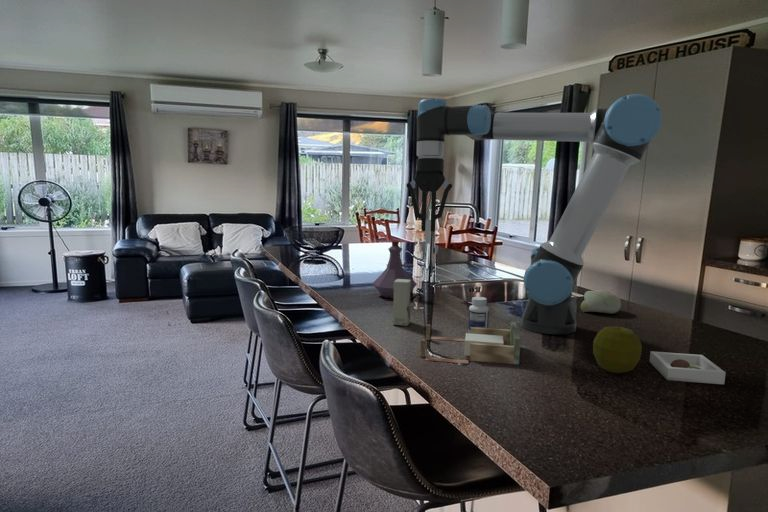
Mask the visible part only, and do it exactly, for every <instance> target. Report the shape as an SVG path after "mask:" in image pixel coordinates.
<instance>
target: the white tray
mask: <svg viewBox="0 0 768 512" xmlns="http://www.w3.org/2000/svg"><path fill="white" fill-rule="evenodd" d="M677 359H682V360H685V361H687V362H688V363H689V364H690V366H694V367H698V368H700V369H692V368H678V367H672V366H671V365H670V364H671V363H672V362H673V361H674V360H677ZM649 363H650V364H651V365H652V366H653V368H655V369H656V370H657V372H659V373H660V374H661V376H662V377H664V379H666V381H677V382H688V383H699V384H701V383H702V384H714V385H725V381H726V374H727V373H726V371H724V370H723V369H721V367H719V366H718V365H717V364H715V363H714V362H712V361H711V360H709V358H707V357H705V356H704V355H703V354H693V353H677V352H666V351H665V352H664V351H651V350H650V354H649Z"/></svg>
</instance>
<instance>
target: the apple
mask: <svg viewBox="0 0 768 512" xmlns="http://www.w3.org/2000/svg"><path fill="white" fill-rule="evenodd" d="M642 351H643V345H642V343H641V341H640V338H639V336H638V335H636V333H635V332H634V331H633V330H631V329H630V328H627V327H623V326H620V322H618V323H617V325H616V326H615V325H611V326H604V327H602V329H600V330H599V331H598V332H597V333H596V336H595V337H594V338H593V341H592V354H593V355H594V358H595V360H596V363H597V365H598V366H599V367H600V368H602V369H603V370H605V371H606V372H608V373H612V374H624V373H627V372H630V371H633V370H634V369H635V367H636V366H637V365H638V363H639V361H640V360H641V357H642V356H641V355H642Z"/></svg>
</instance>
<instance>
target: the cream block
mask: <svg viewBox="0 0 768 512" xmlns="http://www.w3.org/2000/svg"><path fill="white" fill-rule="evenodd" d="M464 339H465V342H464V349H463V350H464V353H463V355H464V356H466V357H470V343H481V344H495V345H504V343H503V336H497V335H484V334H471V333H469V332H468V333H467V332H466V333H465V337H464Z"/></svg>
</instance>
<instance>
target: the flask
mask: <svg viewBox="0 0 768 512" xmlns="http://www.w3.org/2000/svg"><path fill="white" fill-rule="evenodd" d="M399 243H400V241H399V240H392V241H391V244H392V245H391V246H390V247H388V251H389V259H388V262H387V264H386V265H387V266H386V268H385V269H384V271H383V272H382V273H381V274H380V275H379V276H378V277H377V278H376V279H375V280H374V281H373V282H372V283H371V285H373V287H375V289H376V290H377V291H378V293H379V294H380V295H381V296H383V297H384V298H387V297H390V298H389V299H394V281H395V280H397V279H408V280H411V287H410V293H411V292H413V290H414V288H415V287H417V285H418V284H417V283H416V281H415V280H414V279H413V278H412V277H411V276H410V275H409V273H407V271H406V269H404V267H403V262H402V259H401V257H402V256H401V252H402V250H403V248H402V247H400V246H399Z"/></svg>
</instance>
